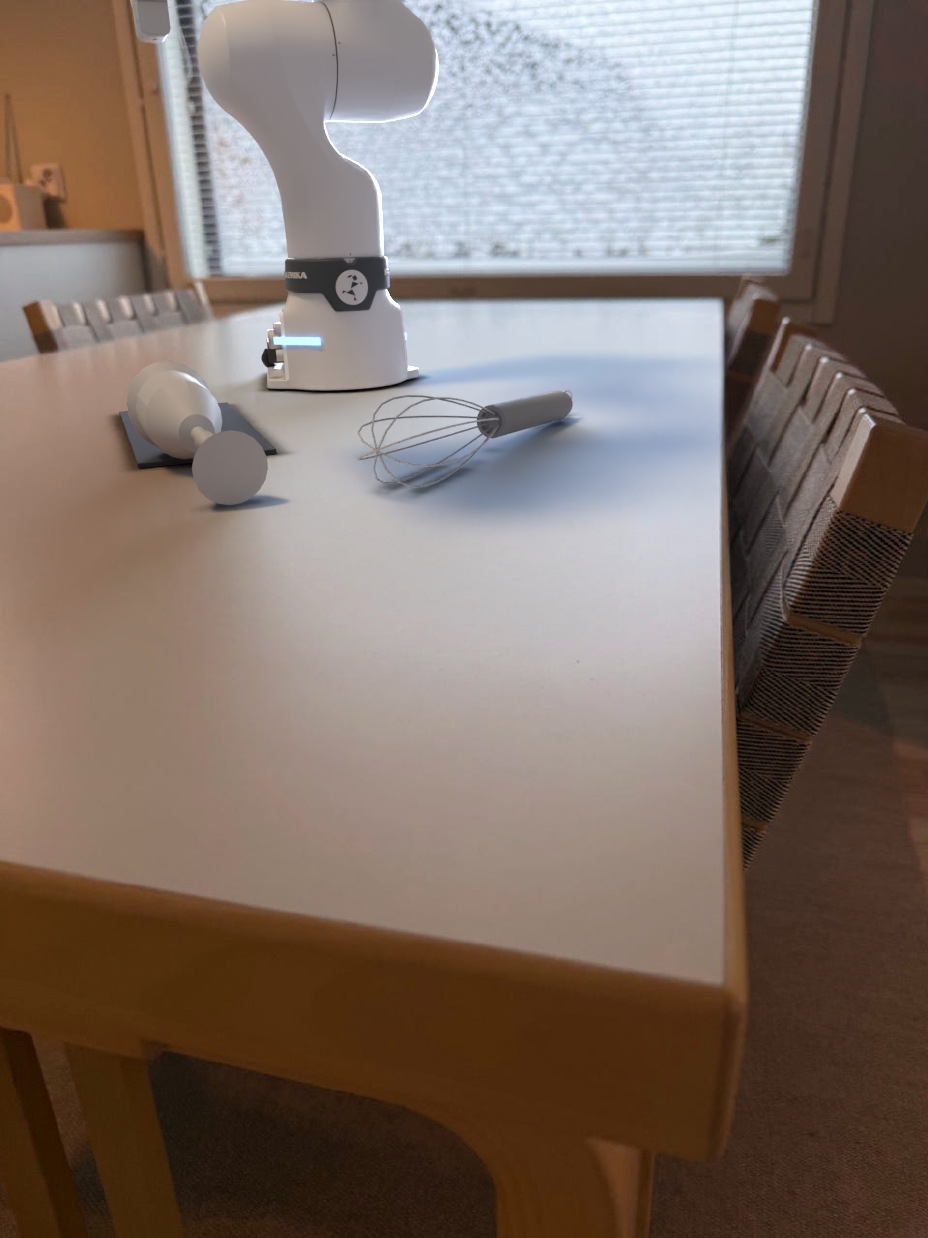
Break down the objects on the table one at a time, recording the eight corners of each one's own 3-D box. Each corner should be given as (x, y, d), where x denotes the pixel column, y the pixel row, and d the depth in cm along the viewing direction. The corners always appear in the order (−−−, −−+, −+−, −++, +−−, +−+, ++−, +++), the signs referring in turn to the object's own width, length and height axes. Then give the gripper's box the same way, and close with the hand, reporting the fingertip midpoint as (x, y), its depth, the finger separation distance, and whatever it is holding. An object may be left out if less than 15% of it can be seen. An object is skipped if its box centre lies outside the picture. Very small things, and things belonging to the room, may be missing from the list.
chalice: (196, 533, 62) (143, 459, 76) (291, 502, 64) (223, 436, 78) (163, 430, 58) (114, 372, 72) (265, 401, 60) (198, 350, 74)
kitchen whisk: (599, 416, 88) (601, 347, 86) (417, 508, 61) (412, 412, 58) (540, 412, 91) (540, 345, 88) (341, 499, 64) (333, 406, 61)
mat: (119, 415, 95) (119, 411, 95) (227, 405, 99) (227, 402, 99) (138, 468, 73) (137, 463, 73) (276, 453, 76) (276, 448, 76)
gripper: (55, -186, 60) (94, 62, 65) (56, -356, 42) (108, 2, 48) (156, -173, 62) (185, 65, 67) (197, -330, 44) (232, 9, 50)
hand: (154, 39), depth 57 cm, fingers closed
